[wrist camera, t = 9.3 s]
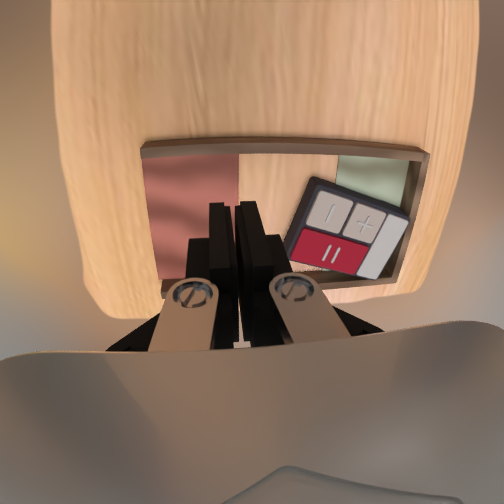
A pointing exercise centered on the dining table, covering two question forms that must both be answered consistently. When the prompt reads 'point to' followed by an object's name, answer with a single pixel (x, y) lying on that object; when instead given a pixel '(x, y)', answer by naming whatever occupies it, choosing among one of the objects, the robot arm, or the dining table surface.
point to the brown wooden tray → (226, 190)
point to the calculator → (344, 230)
